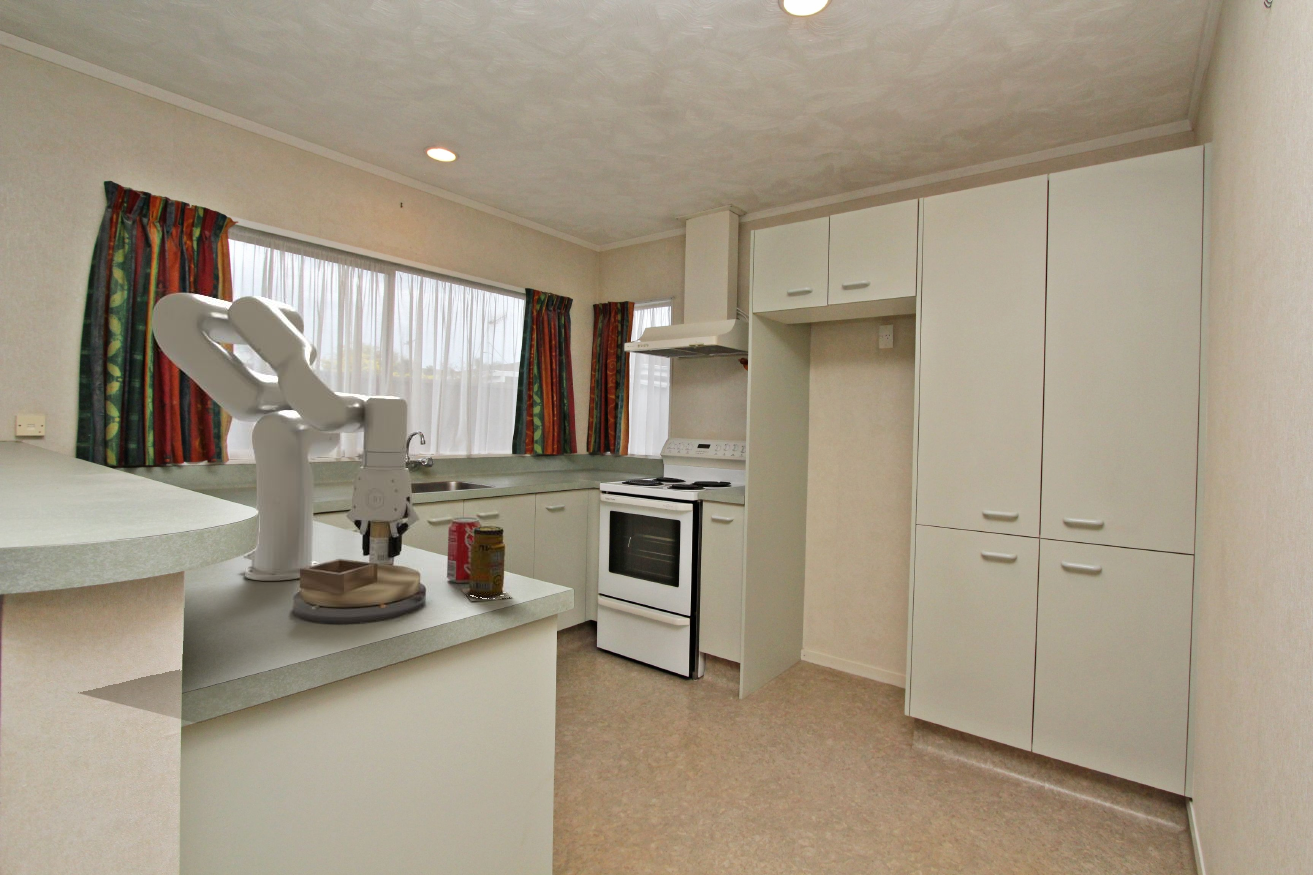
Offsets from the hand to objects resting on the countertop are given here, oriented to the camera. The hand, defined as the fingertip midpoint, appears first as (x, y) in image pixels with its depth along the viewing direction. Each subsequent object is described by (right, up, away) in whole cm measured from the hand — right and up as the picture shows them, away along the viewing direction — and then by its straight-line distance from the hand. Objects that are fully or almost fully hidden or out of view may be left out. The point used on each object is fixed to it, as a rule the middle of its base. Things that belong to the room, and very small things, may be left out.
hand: (381, 554), depth 118 cm
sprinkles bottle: (0, -5, 0) cm, 5 cm away
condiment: (+22, -6, -6) cm, 24 cm away
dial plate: (+3, -5, -15) cm, 16 cm away
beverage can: (+15, -6, +2) cm, 16 cm away
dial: (+4, -3, -15) cm, 16 cm away
